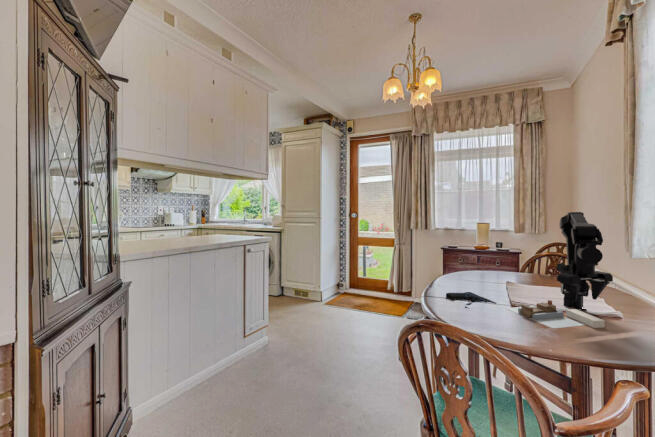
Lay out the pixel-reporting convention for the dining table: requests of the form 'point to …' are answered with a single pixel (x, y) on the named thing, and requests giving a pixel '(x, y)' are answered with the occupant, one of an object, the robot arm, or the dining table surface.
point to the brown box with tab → (537, 309)
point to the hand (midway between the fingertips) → (584, 300)
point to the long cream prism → (585, 318)
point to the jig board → (550, 318)
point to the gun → (468, 297)
